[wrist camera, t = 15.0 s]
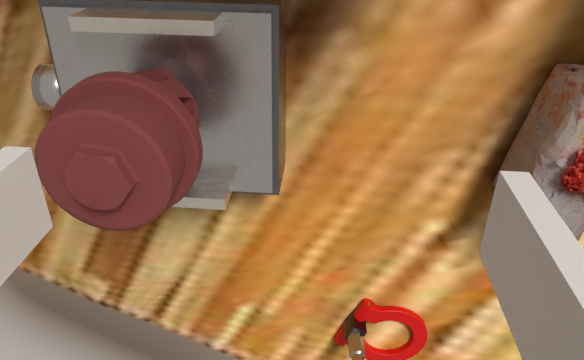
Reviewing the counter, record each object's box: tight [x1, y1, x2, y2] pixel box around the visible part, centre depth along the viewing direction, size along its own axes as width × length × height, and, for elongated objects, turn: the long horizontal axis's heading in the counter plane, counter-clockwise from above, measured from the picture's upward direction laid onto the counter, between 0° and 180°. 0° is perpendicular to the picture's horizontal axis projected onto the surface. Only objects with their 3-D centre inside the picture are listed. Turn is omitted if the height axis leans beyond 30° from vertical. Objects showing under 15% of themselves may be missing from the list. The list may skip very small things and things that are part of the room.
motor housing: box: [32, 0, 286, 210], centre depth 41 cm, size 16×21×10 cm
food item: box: [491, 63, 584, 241], centre depth 40 cm, size 14×8×10 cm, turn 167°
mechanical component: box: [35, 67, 203, 231], centre depth 34 cm, size 12×10×10 cm
